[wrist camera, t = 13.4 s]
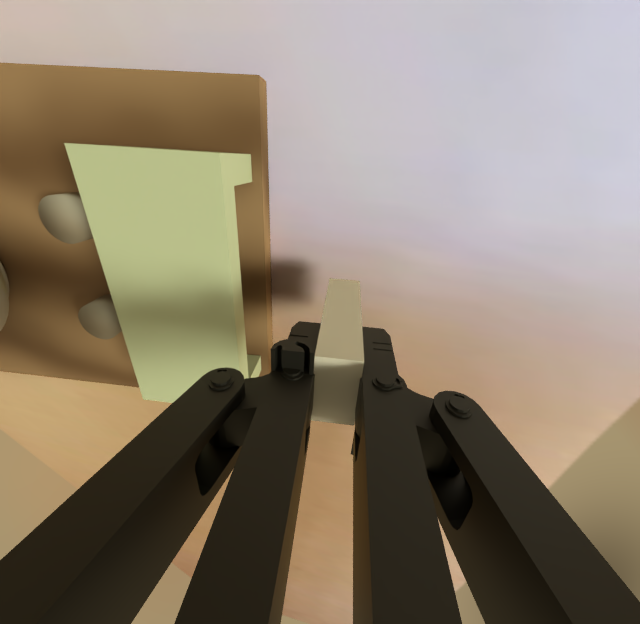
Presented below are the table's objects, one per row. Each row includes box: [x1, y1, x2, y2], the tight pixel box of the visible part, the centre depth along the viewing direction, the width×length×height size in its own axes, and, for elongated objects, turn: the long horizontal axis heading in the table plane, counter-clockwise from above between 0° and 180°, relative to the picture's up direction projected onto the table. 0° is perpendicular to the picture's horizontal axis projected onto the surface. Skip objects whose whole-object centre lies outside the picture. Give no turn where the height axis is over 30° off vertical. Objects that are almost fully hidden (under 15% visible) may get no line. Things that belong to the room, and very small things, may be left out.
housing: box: [64, 143, 261, 403], centre depth 15 cm, size 13×6×4 cm, turn 177°
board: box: [0, 63, 273, 387], centre depth 18 cm, size 19×28×3 cm
